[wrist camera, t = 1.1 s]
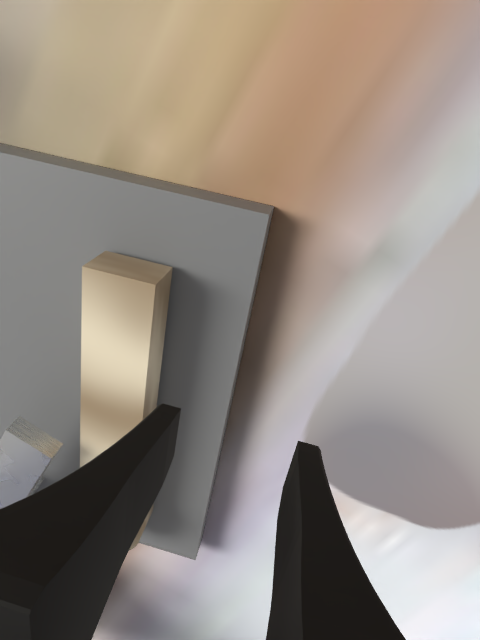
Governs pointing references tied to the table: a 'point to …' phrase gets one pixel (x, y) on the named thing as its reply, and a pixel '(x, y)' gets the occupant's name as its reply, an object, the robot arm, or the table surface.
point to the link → (120, 348)
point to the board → (182, 317)
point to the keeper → (24, 460)
